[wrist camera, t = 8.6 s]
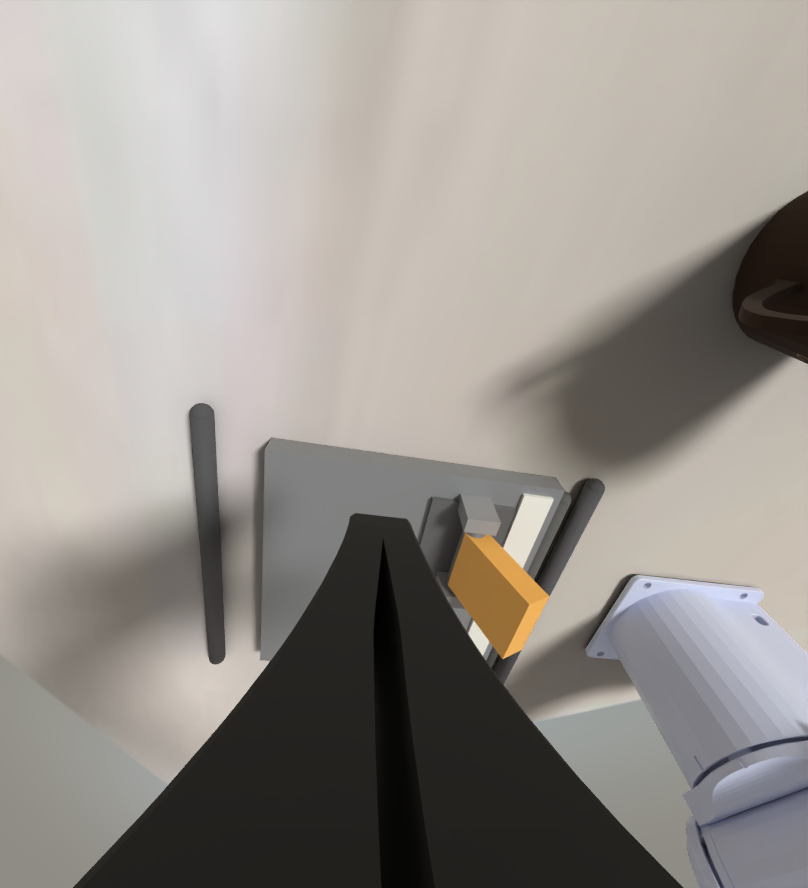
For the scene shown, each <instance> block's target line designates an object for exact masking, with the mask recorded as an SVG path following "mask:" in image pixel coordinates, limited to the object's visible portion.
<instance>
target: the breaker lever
mask: <svg viewBox="0 0 808 888" xmlns="http://www.w3.org/2000/svg"><path fill="white" fill-rule="evenodd" d="M446 585H447V587H448V588H449V589H450V590H451V591H453V593H454V594H455V595H456V597H457V598H458V600H459V601H460V602H461V604H462V605H463V606H464V608H465V609H466V610H467V612H468V613H469V615H470V616H471V617H472V619H473V620H474V621H475V623H476V624H477V625H478V627H479V628H480V629H481V631H482V632H483V634H484V635H485V636H486V638H487V639H488V640H489V642H490V643H491V644H492V646H493V647H494V649H495V650H496V651H497V653H498V654H499V655H500V657H501V658H502V659H504V658H506V657H508V656H510V655H512V654H514V653H516V652H518V651H520V650H522V648H523V646H524V644H525V642H526V640H527V638H528V637H529V635H530V633H531V631H532V629H533V627H534V625H535V623H536V621H537V619H538V617H539V615H540V614H541V612H542V610H543V608H544V606H545V604H546V602H547V600H548V598H549V595H548V594H547V593H546V592H545V591H544V590H543V589H542V588H541V587H540V586H539V585H538V584H537V583H536V582H535V581H534V580H533V579H532V578H531V577H530V576H529V575H528V574H527V573H526V572H525V571H524V569H523V568H522V567H521V566H520V565H519V564H518V563H517V562H516V561H515V560H514V559H513V558H512V557H511V556H510V555H509V554H508V553H507V552H506V551H505V550H504V549H503V548H502V547H501V546H500V545H499V544H498V543H497V541H496V540H495V539H494V538H493V537H492V536H491V535H484V534H475V533H467V532H463V531H462V534H461V537H460V540H459V543H458V546H457V549H456V552H455V555H454V558H453V561H452V564H451V567H450V570H449V573H448V576H447V579H446Z"/></svg>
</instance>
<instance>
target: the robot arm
mask: <svg viewBox="0 0 808 888" xmlns="http://www.w3.org/2000/svg"><path fill="white" fill-rule="evenodd" d="M763 597H764V593H763V592H762V591H761V590H760V589H759V588H753V587H744V586H735V585H725V584H716V583H707V582H698V581H689V580H680V579H671V578H662V577H653V576H644V575H636V576H634V577H632V578H631V579H630V580H629V582H628V583H627V585H626V586H625V588H624V590H623V591H622V593H621V594H620V596H619V597H618V599H617V600H616V602H615V604H614V605H613V607H612V608H611V610H610V611H609V613H608V614H607V616H606V618H605V619H604V621H603V622H602V624H601V625H600V627H599V628H598V630H597V632H596V633H595V635H594V636H593V638H592V639H591V641H590V642H589V644H588V646H587V647H586V649H585V652H586V654H587V656H589V657H592V658H604V659H616V660H620V661H621V663H622V665H623V666H624V668H625V670H626V672H627V674H628V676H629V677H630V679H631V681H632V683H633V685H634V686H635V688H636V690H637V692H638V694H639V695H640V697H641V699H642V701H643V702H644V704H645V706H646V708H647V710H648V711H649V713H650V715H651V717H652V719H653V720H654V722H655V724H656V726H657V728H658V729H659V731H660V733H661V735H662V736H663V739H664V740H665V742H666V744H667V746H668V747H669V749H670V751H671V753H672V755H673V757H674V758H675V760H676V762H677V764H678V766H679V767H680V769H681V771H682V773H683V774H684V776H685V778H686V780H687V782H688V784H689V785H690V787H691V789H692V790H690V791H688V792H686V793H684V794H683V797H684V799H685V800H686V802H687V804H688V806H689V808H690V810H691V812H692V814H693V816H691V817H690V818H689V819H688V820H687V822H686V834H687V851H688V856H689V860H690V863H691V866H692V869H693V872H694V875H695V877H696V880H697V882H698V885H699V887H700V888H808V653H807V652H806V651H805V650H803V649H802V648H801V647H800V646H799V645H798V644H797V643H796V642H795V641H794V640H793V639H792V638H791V637H790V636H789V635H788V634H787V633H786V632H785V631H784V630H783V629H782V628H781V627H780V626H779V625H778V624H777V623H776V622H775V621H774V620H773V619H772V618H771V617H770V616H769V615H768V614H767V613H766V612H765V611H764V610H763V609H762V608H761V607H760V606H759V605H758V603H759V602H760V601H761V600H762V598H763ZM73 888H683V887H682V886H681V885H680V884H679V883H678V882H677V881H676V880H675V879H674V878H673V877H672V876H671V875H670V874H669V873H668V872H667V871H666V870H665V869H664V868H663V867H662V866H661V865H660V864H659V863H658V862H657V861H656V860H655V858H654V857H652V856H651V854H650V853H649V852H648V851H646V849H645V848H644V847H643V846H642V845H641V844H640V843H639V842H638V841H637V840H636V839H635V838H634V837H633V836H632V835H631V834H630V833H629V832H628V831H627V830H626V829H625V828H624V827H623V826H622V825H621V824H620V823H619V821H618V820H617V819H616V818H615V817H614V816H613V815H612V814H611V813H610V811H609V810H608V809H607V808H606V807H605V806H604V805H603V804H602V803H601V802H600V800H599V799H598V798H597V797H596V796H595V795H594V794H593V793H592V792H591V790H590V789H589V788H588V787H587V786H586V785H585V784H584V783H583V782H582V781H581V780H580V778H579V777H578V776H577V775H576V774H575V773H574V771H573V770H572V769H571V768H570V767H569V765H568V764H567V763H566V762H565V761H564V759H563V758H562V757H561V756H560V755H559V753H558V752H557V751H556V750H555V749H554V747H553V746H552V745H551V744H550V743H549V741H548V740H547V739H546V738H545V737H544V736H543V734H542V733H541V732H540V731H539V730H538V728H537V727H536V726H535V725H534V724H533V722H532V721H531V720H530V719H529V718H528V716H527V715H526V714H525V713H524V711H523V710H522V709H521V707H520V706H519V705H518V703H517V702H516V701H515V700H514V698H513V697H512V696H511V694H510V693H509V692H508V690H507V689H506V688H505V686H504V685H503V684H502V682H501V681H500V680H499V678H498V677H497V675H496V674H495V673H494V671H493V670H492V668H491V667H490V666H489V664H488V663H487V661H486V660H485V659H484V657H483V656H482V654H481V653H480V651H479V650H478V648H477V647H476V645H475V644H474V642H473V641H472V639H471V637H470V636H469V634H468V633H467V631H466V630H465V628H464V626H463V625H462V623H461V621H460V620H459V618H458V617H457V615H456V613H455V612H454V610H453V608H452V607H451V605H450V603H449V601H448V600H447V598H446V596H445V594H444V592H443V590H442V589H441V587H440V585H439V583H438V581H437V579H436V578H435V576H434V574H433V572H432V570H431V568H430V566H429V564H428V562H427V560H426V558H425V556H424V554H423V552H422V549H421V547H420V545H419V543H418V540H417V538H416V536H415V533H414V531H413V529H412V526H411V523H410V522H409V521H408V519H405V518H396V517H387V516H378V515H369V514H360V513H355V514H353V515H351V516H350V519H349V524H348V528H347V531H346V534H345V536H344V539H343V541H342V544H341V546H340V548H339V550H338V553H337V555H336V557H335V559H334V561H333V563H332V564H331V566H330V568H329V570H328V572H327V574H326V576H325V578H324V580H323V582H322V583H321V585H320V587H319V589H318V590H317V592H316V593H315V595H314V597H313V598H312V600H311V602H310V603H309V605H308V606H307V608H306V610H305V611H304V613H303V615H302V616H301V618H300V619H299V621H298V622H297V624H296V625H295V627H294V628H293V630H292V631H291V633H290V634H289V636H288V637H287V639H286V640H285V642H284V643H283V644H282V646H281V647H280V649H279V650H278V651H277V653H276V654H275V656H274V657H273V658H272V660H271V661H270V663H269V664H268V665H267V667H266V668H265V669H264V671H263V672H262V673H261V674H260V676H259V677H258V678H257V680H256V681H255V682H254V683H253V685H252V686H251V687H250V689H249V690H248V691H247V692H246V694H245V695H244V696H243V698H242V699H241V700H240V702H239V703H238V704H237V705H236V706H235V708H234V709H233V710H232V711H231V713H230V714H229V715H228V716H227V718H226V719H225V720H224V721H223V722H222V724H221V725H220V726H219V727H218V728H217V730H216V731H215V732H214V733H213V734H212V735H211V737H210V738H209V739H208V740H207V741H206V742H205V744H204V745H203V746H202V747H201V748H200V749H199V750H198V752H197V753H196V754H195V755H194V756H193V757H192V758H191V760H190V761H189V762H188V763H187V764H186V765H185V767H184V768H183V769H182V770H181V771H180V772H179V773H178V775H177V776H176V777H175V778H174V779H173V780H172V782H171V783H170V784H169V785H168V786H167V787H166V788H165V790H164V791H163V792H162V793H161V794H160V795H159V796H158V797H157V799H156V800H155V801H154V802H153V803H152V804H151V805H150V806H149V807H148V808H147V810H146V811H145V812H144V813H143V814H142V815H141V816H140V817H139V818H138V819H137V820H136V821H135V823H134V824H133V825H132V826H131V827H130V828H129V829H128V830H127V831H126V832H125V833H124V834H123V835H122V836H121V837H120V838H119V839H118V841H117V842H116V843H115V844H114V845H113V846H112V847H111V848H110V849H109V850H108V851H107V852H106V853H105V854H104V855H103V856H102V857H101V859H100V860H99V861H98V862H97V863H96V864H95V865H94V866H93V867H92V868H91V869H90V870H89V871H88V872H87V873H86V875H84V876H83V878H82V879H81V880H80V881H79V882H78V883H77V884H76V885H75V886H74V887H73Z"/></svg>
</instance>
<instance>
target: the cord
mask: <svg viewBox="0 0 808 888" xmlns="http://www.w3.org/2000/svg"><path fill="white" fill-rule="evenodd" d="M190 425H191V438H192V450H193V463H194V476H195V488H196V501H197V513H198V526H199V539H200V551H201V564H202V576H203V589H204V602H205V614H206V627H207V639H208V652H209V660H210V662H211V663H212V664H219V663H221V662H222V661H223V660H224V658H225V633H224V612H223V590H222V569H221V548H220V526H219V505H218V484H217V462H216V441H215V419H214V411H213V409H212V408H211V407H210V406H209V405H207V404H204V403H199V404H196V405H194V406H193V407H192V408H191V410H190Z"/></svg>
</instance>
